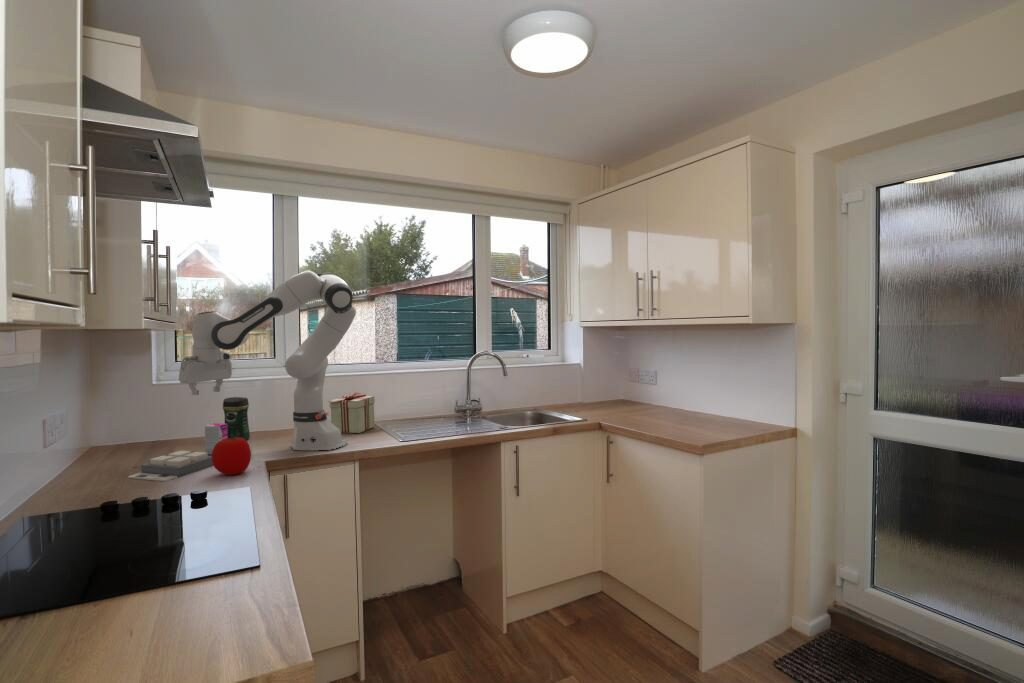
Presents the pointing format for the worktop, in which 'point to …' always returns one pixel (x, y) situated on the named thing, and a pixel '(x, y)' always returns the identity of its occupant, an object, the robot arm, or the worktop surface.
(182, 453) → the button
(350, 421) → the gift box
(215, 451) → the tomato
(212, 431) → the supplement box
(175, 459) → the button
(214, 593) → the worktop surface
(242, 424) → the coffee jar
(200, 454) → the button
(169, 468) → the button board
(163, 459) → the button
